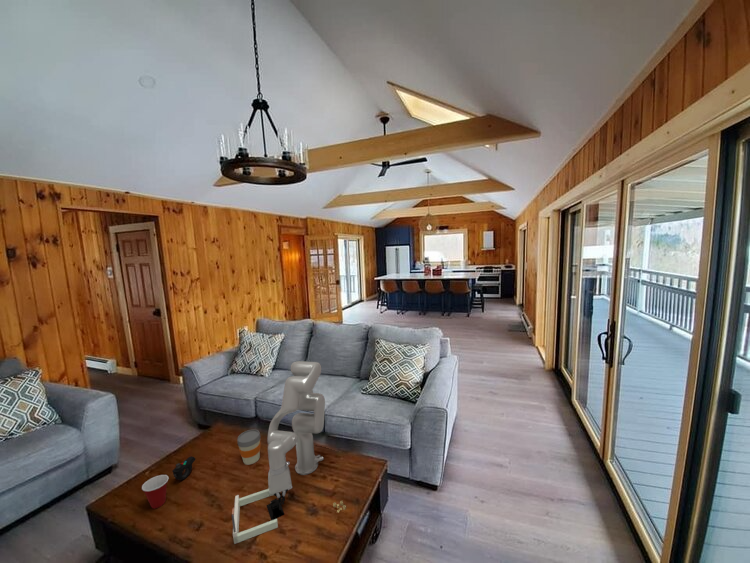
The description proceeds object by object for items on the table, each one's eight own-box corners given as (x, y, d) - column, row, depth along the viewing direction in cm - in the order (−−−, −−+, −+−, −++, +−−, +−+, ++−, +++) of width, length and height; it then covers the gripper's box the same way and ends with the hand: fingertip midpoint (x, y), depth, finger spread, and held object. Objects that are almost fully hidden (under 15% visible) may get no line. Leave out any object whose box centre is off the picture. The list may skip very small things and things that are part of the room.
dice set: (333, 506, 143) (332, 503, 143) (343, 502, 145) (342, 498, 145) (336, 515, 139) (335, 511, 139) (346, 510, 141) (346, 506, 141)
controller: (172, 484, 162) (170, 467, 161) (192, 467, 174) (189, 451, 173) (179, 485, 161) (176, 468, 160) (198, 468, 173) (195, 452, 171)
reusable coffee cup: (254, 449, 187) (252, 426, 185) (267, 456, 179) (264, 433, 177) (235, 461, 177) (232, 438, 175) (247, 470, 169) (244, 445, 167)
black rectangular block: (264, 505, 146) (263, 496, 146) (280, 498, 150) (279, 489, 149) (270, 524, 136) (269, 515, 135) (287, 516, 139) (286, 507, 139)
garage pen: (274, 492, 153) (272, 468, 151) (277, 527, 134) (274, 501, 132) (236, 505, 147) (233, 481, 145) (234, 544, 127) (230, 516, 125)
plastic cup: (177, 496, 154) (173, 475, 152) (157, 514, 144) (153, 492, 142) (160, 492, 157) (157, 471, 155) (139, 510, 147) (135, 488, 145)
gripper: (293, 457, 148) (296, 491, 150) (261, 467, 142) (265, 502, 145) (295, 467, 141) (299, 502, 143) (261, 478, 135) (265, 514, 138)
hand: (281, 502), depth 144 cm, fingers closed
